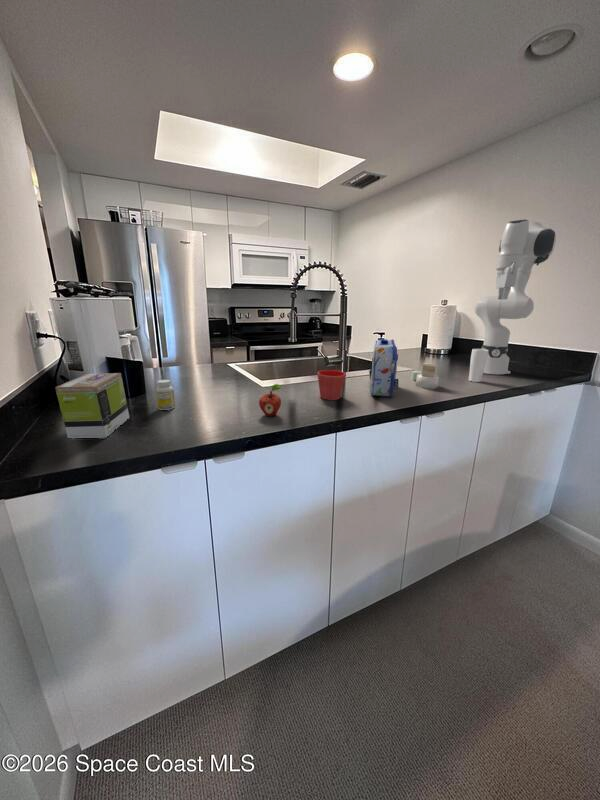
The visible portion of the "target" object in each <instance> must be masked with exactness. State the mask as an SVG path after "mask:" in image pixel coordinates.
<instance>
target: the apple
mask: <svg viewBox="0 0 600 800" xmlns="http://www.w3.org/2000/svg"><path fill="white" fill-rule="evenodd" d="M281 388H282V384H278V383H273V385H272V386H271V390H269V393H267V394H263V395H262V396H261V397H260V398H259V401H258V405H259V408H260V409H261V411H262V413H264V415H265V416H267V417H275V416H276V415H277V414H278V412H279V410H280V408H281V405H282V401H281V397H280V396H279V395H278V394H276V393H273V391H277V390H280V389H281ZM274 415H275V416H274Z"/></svg>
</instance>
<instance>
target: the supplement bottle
mask: <svg viewBox="0 0 600 800" xmlns="http://www.w3.org/2000/svg"><path fill="white" fill-rule="evenodd" d="M156 385H157V387H156V389H155V392H156V393H155V394H156V401H157V408H158V410H160V411H161V410H168V411H171V410H170V409H172V410H174V409H175V407H176V402H175V393H174V387H173V386H171V385H172V384H171V379H160V380H157V384H156ZM173 408H174V409H173Z"/></svg>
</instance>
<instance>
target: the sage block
mask: <svg viewBox="0 0 600 800" xmlns="http://www.w3.org/2000/svg"><path fill="white" fill-rule="evenodd" d="M410 372H411V373H410V380H411V381H413V380H416V379H417V374H422V371H420V370H411V371H410Z"/></svg>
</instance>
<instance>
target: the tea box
mask: <svg viewBox="0 0 600 800" xmlns="http://www.w3.org/2000/svg"><path fill="white" fill-rule="evenodd" d="M123 381H124V380H123V376H122V373H121V372H114V373H113V372H112V373H109V372H108V373H106V372H105V373H103V372H102V373H85V374H83V375H81V376H79V377H76V378H73V379H71V380H68V381H66V382H64V383H63V384H60V385H57V386H55V387H54V388H55V393H56V396H57V401H58V404H59V405H58V406H59V409H60V413H61V415H62V420H63V424H64V428H65V432H66V436H67V439H68V438H99V439H106V438H108V437H109V436H110V435H111V434H113V432H114V430H115V429H116V430H117V429H118V428H119V427H121V426H122V425H123V424H124V423H125V422H126V421H128V420H129V419H130V412H129V409H128V403H127V398H126V397H127V396H126V393H125V387H124V382H123ZM127 419H128V420H127ZM120 425H121V426H120ZM116 430H115V431H116ZM107 436H108V437H107ZM105 437H106V438H105Z"/></svg>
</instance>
